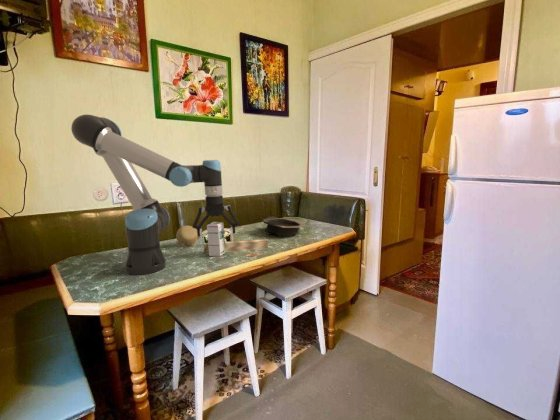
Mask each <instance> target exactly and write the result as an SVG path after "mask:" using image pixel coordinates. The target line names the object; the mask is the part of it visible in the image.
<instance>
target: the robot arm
mask: <svg viewBox="0 0 560 420" xmlns="http://www.w3.org/2000/svg"><path fill="white" fill-rule="evenodd" d="M70 130H71V133H72V135H73V137H74V138H75V140H76V141H78V143H81V144H82V145H85V146H88V147H90V148H92V149H93V151H94V153H95V154H96V156H99V157H102V158H103V160H104V161H105V163H106V165H107V167H108V169H109V170H110V172H111V174H112V175H113V176H114V178H115V180H116V181H117V183H118V185H119V186H120V187H121V190H122V191H123V193H124V194H125V197H126V198H127V200H128V202H129V203H130V204H131V206H132V210H131V211H130V212H127V214H125V217H124V218H125V221H124V225H125V232H126V240H127V241H126V242H127V249H128V254H127V257H126V261H125V267H124V268H125V272H126V273H127V274H128V275H133V276H134V275H135V276H137V275H138V276H139V275H150V274H152V273H153V274H154V273H157V272H159V271H161V270H163V269H165V268H166V267H167V260H166V258H165V255H164V253H163V251H162V249H161V245H160V244H161V243H160V234H161V233H162V232H164V231H166V229H167V228H168V226H169V224H170V222H171V221H170V220H171V218H170V217H171V216H170V214H169V211H168V210H167V209H166V208H165V207H163V206H162V205H161V204H160V202H159V200H158V199H156V198H153V197H152V196H151V194H150V193H149V191H148V189H147V187H146V185H145V183H144V182H143V180H142V179H141V177H140V176H139V174H138V172H137V170H136V169H135V167H134V165H135V166H137V167H140V168H141V169H143V170H147V171H149V172H150V173H152V174H154V175H157V176H159V177H161V178H164V179H165V180H167V181H170V183H172V185H173V186H176V187H179V188H180V187H181V188H182V187H186V186H188V185H189V184H192V183H193V184H196V183H203V184H204V186H203V187H204V195H205V207H203V206H199V208H198V213H197V215H196V218H195V220H194V222H193V225H192V227H193V228H195V229H197V235H198V236H200V238H199V239H200V244H203V245H204V240H203V228H202V226H203V225H204V223H205V222H206V221H207V220H208V219H209V217H220V216H221V218H223V219H224V220H225V221H226V222H228V223H229V225H230V235H231V236H230V238H231V242H232V241H234V234H236V227H237V226H239V224H240V223H239V221H238V219H237V218H236V216H235V213H234V212H233V211H232V208H231V205H230V204H228V205H224V199H223V198H224V196H223V194H224V193H223V186H222V185H223V181H222V168H221V162H220V160H218V159H209V160H207V159H205V160H203V161H202V164H197V165H196V164H193V165H192V164H191V165H188V164H187V165H182V164H180V163H178V162H175V161H174V160H171V159H170V158H168V157H165V156H164V155H161V154H159V153H157V152H155V151H153V150H150V149H148V148H146V147H145V146H143V145H140V144H138V143H137V142H134V141H132V140H130V139H128V138H126V137H124V136H122V131H121V129H120V126H119V125H118V124H117V123H115V122H114V121H113V120H110V119H109V118H106V117H102V116H101V117H100V116H97V115H91V114H81V115H79V116H77V117H76V118H75V119H74V120H73V121H72V123H71V128H70ZM225 210H226V211H228V213H229V215H230V217H231V218H232V219H230V217H229V216H227V215H226V213H225V212H224V211H225ZM204 212H206V214H205V216H204V217H203V218H202V220H201V221H200V223H198V222H199V219H200V217H201V216H202V213H204ZM232 220H233V221H232ZM197 224H198V225H197Z"/></svg>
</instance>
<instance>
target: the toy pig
mask: <svg viewBox="0 0 560 420" xmlns="http://www.w3.org/2000/svg"><path fill="white" fill-rule="evenodd" d="M175 236H176V241H177V243H178V244H179V245H180V246H181V247H185V246H186V247H194V245H195V244H196V242H197V241H198V240H199V239H200V236H198V235H197V229H195V228H193V225H183V226H180V228H178V229H177V231H176V234H175Z"/></svg>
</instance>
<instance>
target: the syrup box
mask: <svg viewBox="0 0 560 420" xmlns="http://www.w3.org/2000/svg"><path fill="white" fill-rule="evenodd" d="M206 232H207V233H206V236H207V243H208V248H209V253H208V256H210V257H218V256H223V254H226V252H225V242H226V241H225V228H224V222H222V221H212V222H211V223H209V224H207V225H206Z"/></svg>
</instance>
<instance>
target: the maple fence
mask: <svg viewBox="0 0 560 420" xmlns="http://www.w3.org/2000/svg"><path fill="white" fill-rule="evenodd" d="M256 250H257V251H258V250H260V251H261V250H269V240H268V239H267V238H266V239H253V240H251V239H250V240H235V241H234V240H233V241H232V240H231V241H225V253H229V252H243V251H244V252H245V251H256ZM203 252H204V254H209V248H208V242H203ZM245 256H246V258H247V257H260V253H251V254H249V253H248V254H246V255H245ZM224 257H225V256H223V255H221V256H210V257H209V260H221V259H225V258H224Z"/></svg>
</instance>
